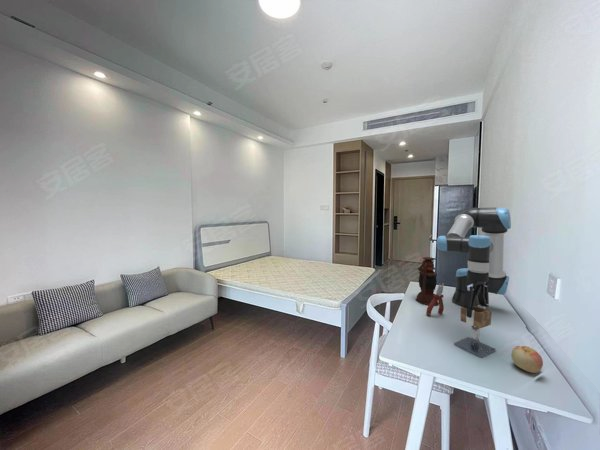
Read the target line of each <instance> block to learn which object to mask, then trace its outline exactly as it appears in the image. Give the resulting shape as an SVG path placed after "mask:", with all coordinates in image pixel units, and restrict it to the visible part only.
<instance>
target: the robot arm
mask: <svg viewBox="0 0 600 450" xmlns="http://www.w3.org/2000/svg"><path fill="white" fill-rule="evenodd" d="M453 222H454V223H453V225H452V226H451V228H450V229H449V231H448V232H447V234H446V235H439V236H438V237H437V239H436V248H437V249H438V250H439V251H444V252H454V253H462V254H463V253H465V254H468V255H467V262H466V263H467V268H465V267H463V268H458V269H457V270H456V271H455V273H456V274H455V291H454V293H453V296H452V297H451V302H452V303H453V304H455V305H457V306H458V307H463V308H465V309H467V312H466V323H465V324H467V325H470V326H471V325H472V326H474V310H473V308H474V306H477V307H480V308H484V309H486V308H488V307H489V304H490V301H489V299H490V298H489V293H490V294H495V295H500V296H501V295H506V293H507V289H508V285H509V281H510V276H508V275H507V273H506V271H504V270H503V269H504V240H505V239H504V235H505V234H506V233H507V232H508V230H509V229H511V228H512V220H511V213H510V210H509V208H507V207H499V206H498V207H497V206H496V207H471V208H469V209H466V210H463V211H462V212H459V213H458V214H457V215H456V216H455V218H454V221H453ZM472 228H481V232H482V233H484V235H482V234H481V235H479V234H478V235H477V234H474V235H473V234H471V235H470V236H469V237H467V236H466V235H467V233H468V231H469V230H470V229H472Z"/></svg>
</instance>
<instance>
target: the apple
mask: <svg viewBox="0 0 600 450" xmlns="http://www.w3.org/2000/svg"><path fill="white" fill-rule="evenodd" d="M510 353H511V355H510V356H511V360H512V361H513V364H514V365H515V366H517V367H518V368H520V369H521V370H524V371H525V372H527V373H531V374H536V373H538V372H540V371H541V370H542V368H543V366H544V361H543V358H542V356H541V354H539V353H538V352H537V350H535V349H534V348H532V347H530V346H527V345H518V346H514V347H513V348H512V350H511V352H510Z"/></svg>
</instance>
